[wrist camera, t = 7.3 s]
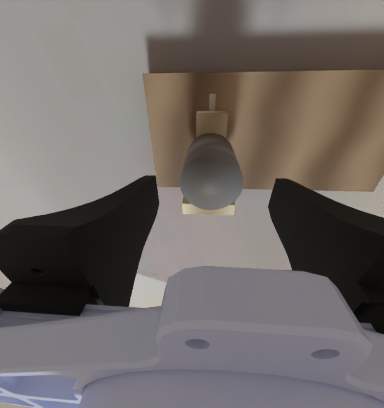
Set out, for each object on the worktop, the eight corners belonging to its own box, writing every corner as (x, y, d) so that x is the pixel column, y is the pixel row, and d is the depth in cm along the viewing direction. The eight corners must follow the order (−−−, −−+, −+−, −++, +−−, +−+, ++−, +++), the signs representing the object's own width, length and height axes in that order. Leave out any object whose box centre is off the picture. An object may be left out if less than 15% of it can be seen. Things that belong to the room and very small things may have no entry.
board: (422, 69, 15) (450, 68, 13) (359, 182, 20) (373, 191, 19) (149, 74, 16) (142, 73, 14) (161, 178, 22) (157, 186, 20)
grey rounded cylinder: (239, 108, 16) (261, 128, 10) (229, 194, 21) (239, 246, 15) (183, 108, 17) (167, 128, 10) (186, 193, 22) (177, 244, 15)
